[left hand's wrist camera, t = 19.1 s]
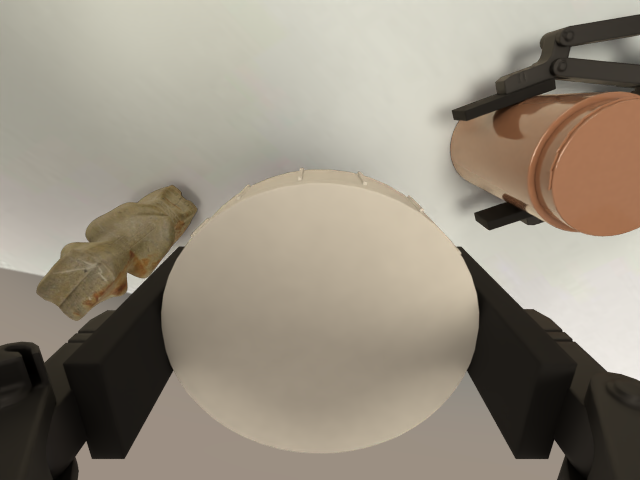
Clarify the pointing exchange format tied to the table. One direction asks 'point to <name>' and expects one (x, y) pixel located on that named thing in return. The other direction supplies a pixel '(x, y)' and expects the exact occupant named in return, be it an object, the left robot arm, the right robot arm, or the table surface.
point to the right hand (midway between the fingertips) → (470, 171)
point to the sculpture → (116, 251)
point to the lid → (320, 313)
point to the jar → (559, 159)
